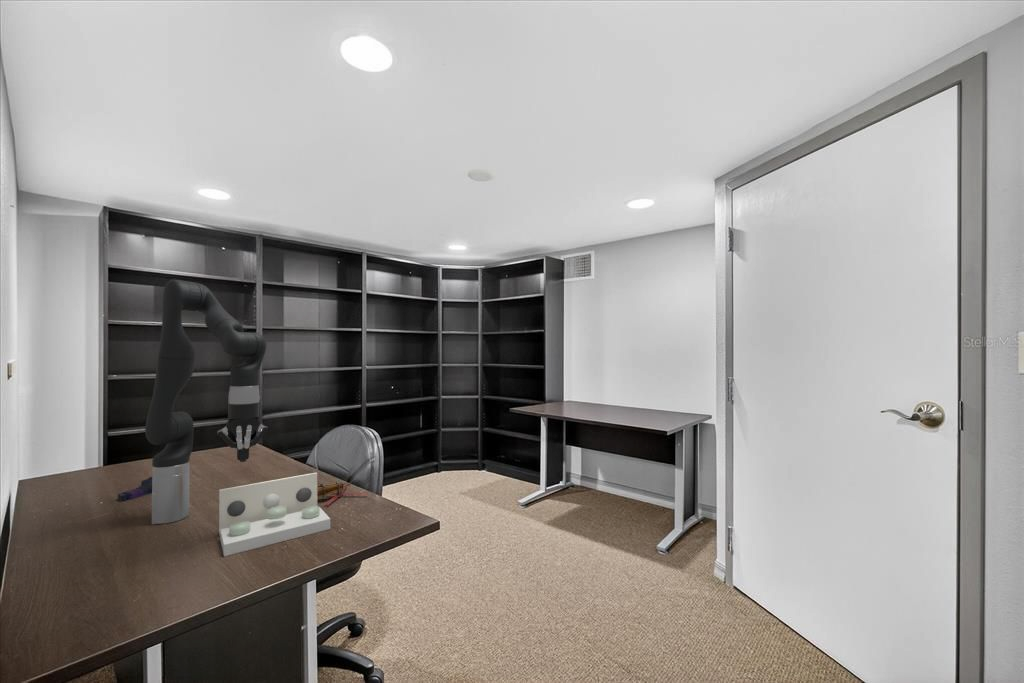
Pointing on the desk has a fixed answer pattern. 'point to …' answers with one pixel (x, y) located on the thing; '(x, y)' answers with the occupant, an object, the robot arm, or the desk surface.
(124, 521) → the desk surface
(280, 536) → the button panel
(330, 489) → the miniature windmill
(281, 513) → the button middle
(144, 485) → the handgun
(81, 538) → the desk surface
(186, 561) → the desk surface
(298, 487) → the pattern card
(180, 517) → the robot arm
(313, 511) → the button right
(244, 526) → the button left
